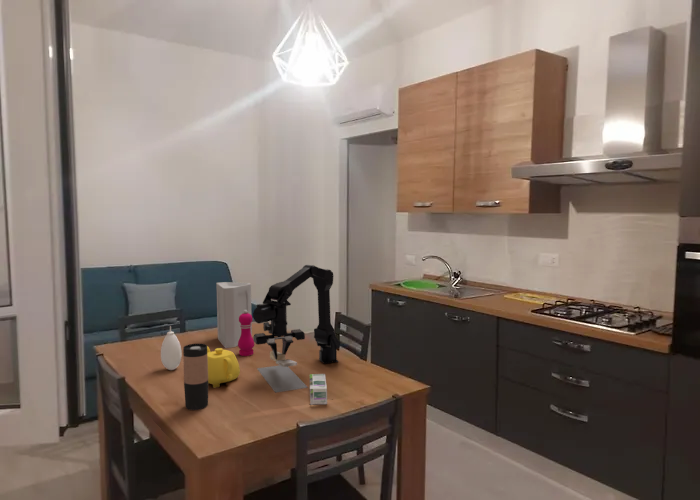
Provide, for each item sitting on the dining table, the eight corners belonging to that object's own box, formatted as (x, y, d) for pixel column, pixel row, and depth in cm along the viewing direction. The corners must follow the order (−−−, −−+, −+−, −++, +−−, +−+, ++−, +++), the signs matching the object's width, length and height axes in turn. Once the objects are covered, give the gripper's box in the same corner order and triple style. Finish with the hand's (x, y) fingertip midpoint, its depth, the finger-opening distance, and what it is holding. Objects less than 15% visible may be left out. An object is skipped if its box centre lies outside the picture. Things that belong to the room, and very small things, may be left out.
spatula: (279, 357, 198) (278, 350, 198) (297, 365, 176) (296, 357, 176) (266, 359, 196) (266, 352, 196) (283, 367, 174) (282, 359, 174)
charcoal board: (286, 367, 202) (285, 364, 202) (308, 390, 176) (308, 387, 176) (256, 371, 197) (256, 368, 197) (275, 395, 172) (275, 392, 171)
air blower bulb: (185, 369, 200) (184, 325, 198) (167, 374, 194) (165, 329, 192) (176, 365, 205) (174, 322, 203) (157, 369, 199) (156, 325, 198)
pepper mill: (250, 356, 216) (249, 311, 214) (235, 355, 218) (234, 311, 216) (257, 352, 223) (256, 308, 221) (242, 351, 225) (241, 307, 223)
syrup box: (325, 373, 178) (327, 387, 163) (325, 389, 178) (327, 404, 164) (309, 374, 177) (309, 388, 163) (309, 390, 178) (310, 405, 163)
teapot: (214, 393, 174) (213, 357, 173) (188, 378, 189) (187, 346, 188) (247, 383, 184) (247, 350, 182) (221, 370, 198) (220, 339, 197)
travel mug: (187, 401, 166) (186, 343, 165) (211, 400, 167) (209, 343, 165) (182, 410, 159) (180, 350, 157) (206, 410, 160) (204, 349, 158)
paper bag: (256, 344, 236) (255, 286, 233) (224, 348, 230) (223, 288, 227) (246, 334, 253) (245, 280, 251) (217, 338, 247) (216, 282, 244)
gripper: (296, 312, 198) (296, 350, 199) (249, 316, 190) (250, 355, 192) (305, 317, 187) (305, 358, 189) (256, 322, 180) (257, 364, 181)
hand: (279, 358), depth 188 cm, fingers closed on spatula, 2 cm apart
